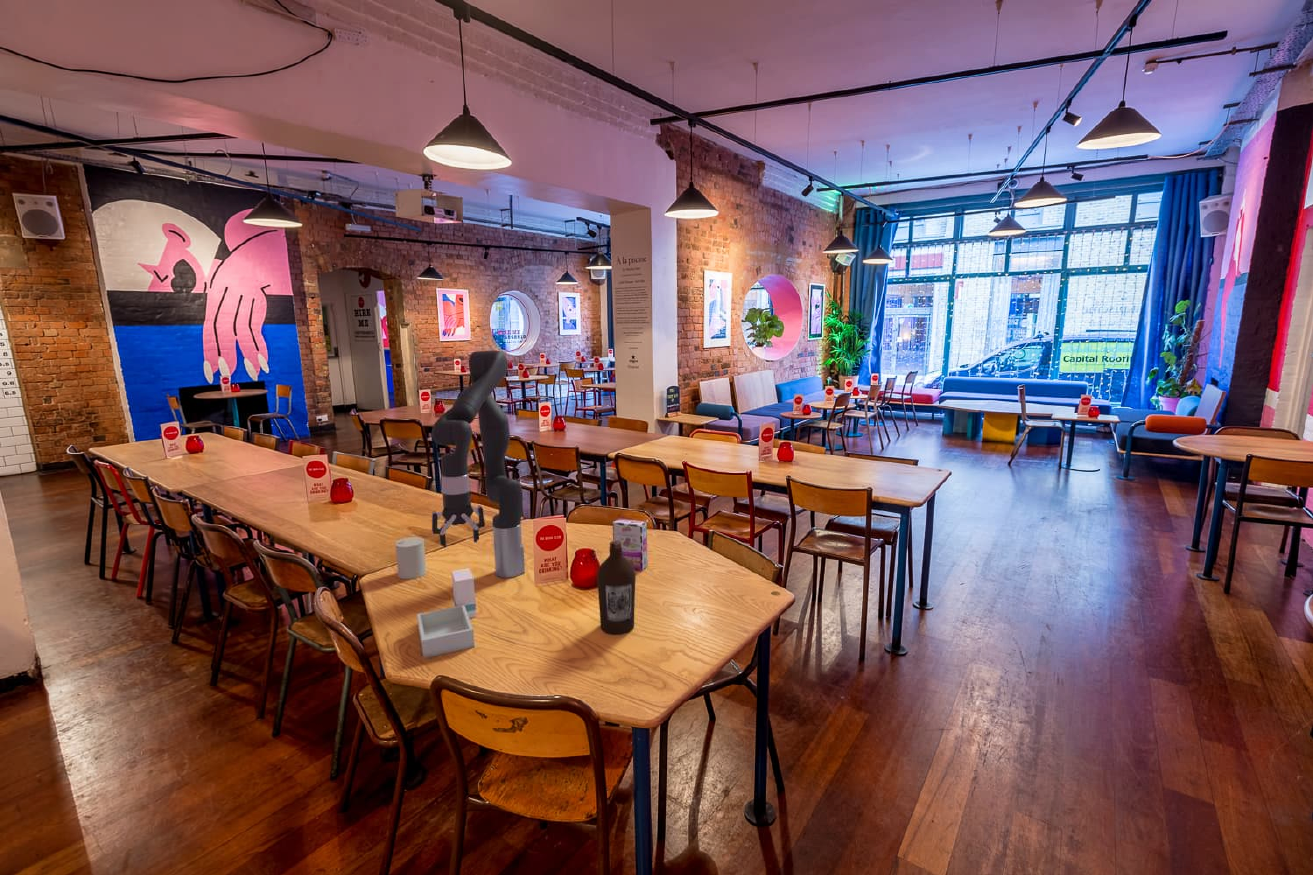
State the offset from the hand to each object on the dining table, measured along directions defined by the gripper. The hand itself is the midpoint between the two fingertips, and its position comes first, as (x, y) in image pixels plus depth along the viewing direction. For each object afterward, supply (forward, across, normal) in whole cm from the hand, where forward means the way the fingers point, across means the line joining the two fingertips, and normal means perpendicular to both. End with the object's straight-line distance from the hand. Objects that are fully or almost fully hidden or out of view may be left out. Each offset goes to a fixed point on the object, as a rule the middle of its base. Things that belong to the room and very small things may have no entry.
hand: (459, 543), depth 173 cm
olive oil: (+21, -37, +28) cm, 51 cm away
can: (+22, +12, -37) cm, 44 cm away
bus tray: (+21, +7, +13) cm, 26 cm away
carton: (+21, 0, 0) cm, 21 cm away
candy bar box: (+21, -57, -9) cm, 62 cm away
